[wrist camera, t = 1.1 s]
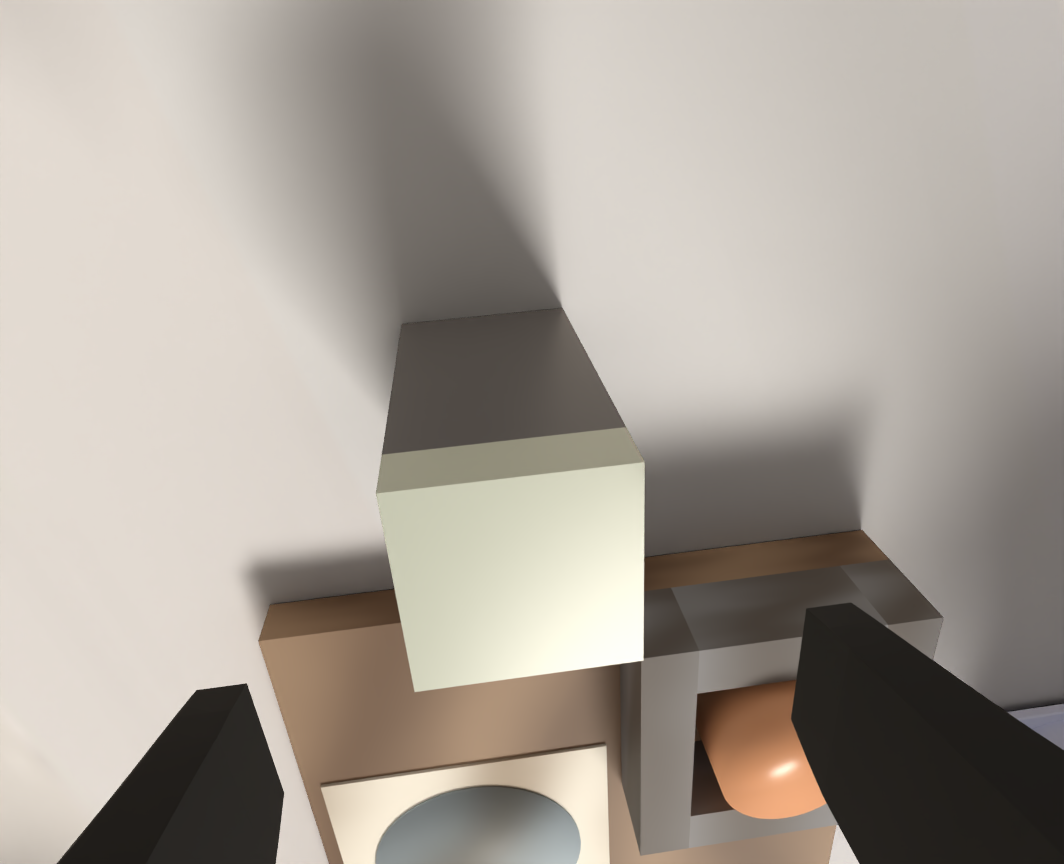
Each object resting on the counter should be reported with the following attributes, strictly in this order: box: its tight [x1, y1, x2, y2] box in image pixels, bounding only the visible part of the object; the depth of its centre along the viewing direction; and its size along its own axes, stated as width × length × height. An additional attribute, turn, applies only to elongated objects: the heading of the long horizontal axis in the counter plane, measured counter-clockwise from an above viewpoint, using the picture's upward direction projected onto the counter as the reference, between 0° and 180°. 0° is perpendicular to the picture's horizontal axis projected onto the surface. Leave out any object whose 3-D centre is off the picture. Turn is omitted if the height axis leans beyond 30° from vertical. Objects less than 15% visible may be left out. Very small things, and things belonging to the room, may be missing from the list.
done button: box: [696, 680, 826, 819], centre depth 20 cm, size 4×4×3 cm
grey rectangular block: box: [376, 308, 645, 692], centre depth 15 cm, size 4×4×8 cm
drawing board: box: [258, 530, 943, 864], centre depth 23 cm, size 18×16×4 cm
